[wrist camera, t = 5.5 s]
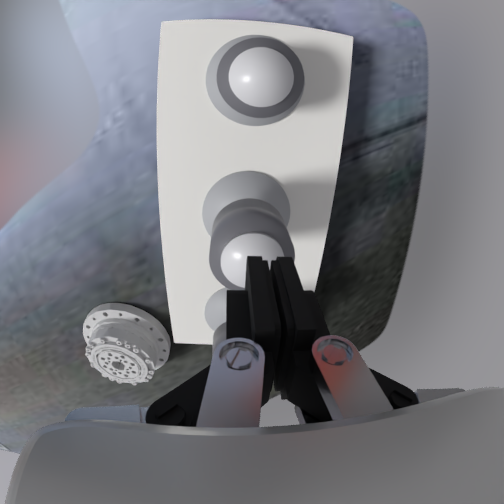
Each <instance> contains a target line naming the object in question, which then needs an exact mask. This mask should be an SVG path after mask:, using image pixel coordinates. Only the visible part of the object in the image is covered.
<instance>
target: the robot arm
mask: <svg viewBox="0 0 504 504" xmlns="http://www.w3.org/2000/svg"><path fill="white" fill-rule="evenodd" d="M273 381H274V388H275V391H280V392H281V399H287V400H288V401H290V402H291V403H293V404H295V412H296V415H297V418H298V420H299V423H300V425H289V426H273V427H259V421H260V410H261V407H262V406H263V405H264V404H266V403H267V402H268V400H269V395H270V391H271V390H272V384H273ZM5 504H504V388H499V387H488V388H487V387H486V388H478V389H472V390H467V391H465V390H463V389H459V388H454V389H453V388H452V389H417V390H416V391H415V392H413V391H412V390H411V389H409V388H407V387H406V386H404V385H402V384H400V383H398V382H396V381H394V380H392V379H390V378H388V377H386V376H384V375H382V374H380V373H378V372H376V371H374V370H372V369H370V368H368V366H367V365H366V363H365V361H364V360H363V358H362V357H361V355H360V353H359V352H358V350H357V349H356V347H355V346H354V345H353V344H352V343H351V342H350V341H349V340H347V339H345V338H343V337H340V336H335V335H330V333H329V330H328V328H327V325H326V322H325V320H324V317H323V314H322V312H321V309H320V306H319V304H318V301H317V299H316V296H315V293H314V292H313V291H312V290H303V287H302V284H301V281H300V278H299V275H298V272H297V269H296V267H295V264H294V261H293V258H292V257H278V256H277V258H276V260H272V261H271V266H270V270H269V265H268V260H263V259H262V256H247V262H246V280H245V290H227V297H226V340H225V341H223V342H221V343H220V344H219V345H218V346H217V347H216V349H215V351H214V354H213V358H212V362H211V365H209V366H208V367H206V368H205V369H203V370H202V371H201V372H199V373H198V374H196V375H195V376H193V377H192V378H190V379H189V380H187V381H186V382H184V383H183V384H181V385H180V386H178V387H177V388H175V389H174V390H172V391H171V392H169V393H168V394H166V395H164V396H163V397H161V398H160V399H158V400H157V401H155V402H154V403H153V404H152V405H151V406H150V407H143V408H140V407H139V405H129V406H113V407H86V408H78V409H75V410H73V411H71V412H70V413H69V414H68V415H67V417H66V418H65V421H64V422H59V423H54V424H51V425H48V426H45V427H42V428H41V429H39V430H37V431H36V432H35V433H34V434H33V435H32V436H31V437H30V438H29V439H28V441H27V442H26V444H25V446H24V447H23V449H22V452H21V454H20V456H19V458H18V461H17V463H16V466H15V469H14V471H13V474H12V478H11V481H10V485H9V488H8V492H7V496H6V500H5Z"/></svg>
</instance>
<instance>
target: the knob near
mask: <svg viewBox="0 0 504 504" xmlns="http://www.w3.org/2000/svg"><path fill="white" fill-rule="evenodd" d="M217 86H218V89H219V92H220V94H221V96H222V98H223V99H224V101H225V102H226V103H227V104H228V105H229V106H230V107H231V108H232V109H234V110H235V111H237V112H239V113H241V114H243V115H245V116H249V117H253V118H269V117H273V116H276V115H279V114H281V113H283V112H285V111H286V110H288V109H289V108H290V107H292V106H293V105H294V104H295V102H296V101H297V100H298V98H299V97H300V94H301V92H302V89H303V86H304V71H303V67H302V64H301V62H300V60H299V58H298V57H297V55H296V54H295V53H294V52H293V51H292V50H291V49H290V48H289V47H288V46H286V45H285V44H283V43H281V42H279V41H277V40H274V39H270V38H264V37H257V38H250V39H246V40H243V41H241V42H239V43H237V44H235V45H234V46H232V47H231V48H230V49H229V50H228V51H227V52H226V53H225V54H224V55H223V57H222V59H221V61H220V63H219V65H218V69H217Z"/></svg>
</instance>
